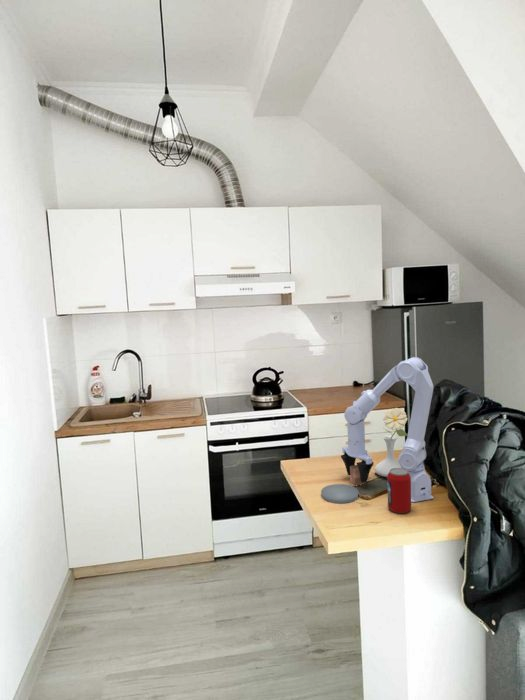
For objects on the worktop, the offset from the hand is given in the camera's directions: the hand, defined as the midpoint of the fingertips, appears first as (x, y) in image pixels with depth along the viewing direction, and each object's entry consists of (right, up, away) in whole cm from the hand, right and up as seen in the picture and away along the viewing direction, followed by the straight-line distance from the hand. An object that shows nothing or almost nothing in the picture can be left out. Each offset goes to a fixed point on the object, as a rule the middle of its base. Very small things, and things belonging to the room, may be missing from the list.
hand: (357, 478), depth 165 cm
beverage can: (+8, -4, -21) cm, 23 cm away
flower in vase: (+14, -1, +6) cm, 15 cm away
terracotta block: (0, -2, 0) cm, 2 cm away
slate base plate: (-8, -3, -9) cm, 12 cm away
